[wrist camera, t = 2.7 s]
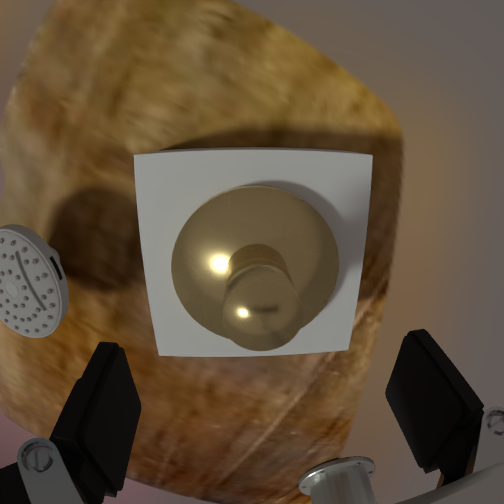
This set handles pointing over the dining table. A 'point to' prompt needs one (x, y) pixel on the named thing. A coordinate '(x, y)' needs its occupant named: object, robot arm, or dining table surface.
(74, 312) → the dining table surface
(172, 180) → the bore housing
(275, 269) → the end cover
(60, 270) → the showerhead
